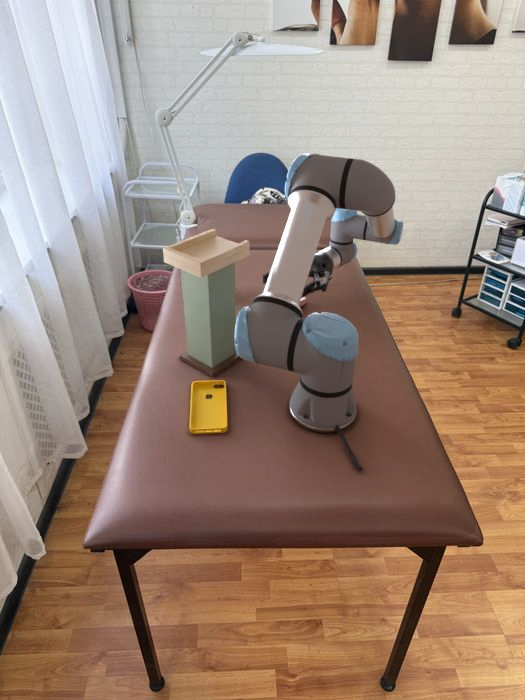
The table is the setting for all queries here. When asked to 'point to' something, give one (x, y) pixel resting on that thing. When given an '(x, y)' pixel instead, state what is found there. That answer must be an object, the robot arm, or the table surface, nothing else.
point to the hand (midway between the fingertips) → (281, 286)
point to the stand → (208, 297)
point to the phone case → (208, 407)
